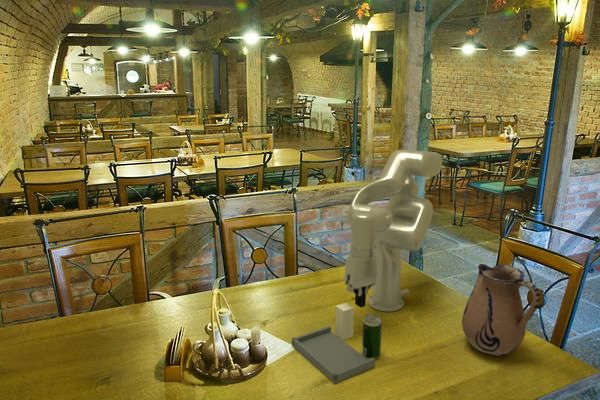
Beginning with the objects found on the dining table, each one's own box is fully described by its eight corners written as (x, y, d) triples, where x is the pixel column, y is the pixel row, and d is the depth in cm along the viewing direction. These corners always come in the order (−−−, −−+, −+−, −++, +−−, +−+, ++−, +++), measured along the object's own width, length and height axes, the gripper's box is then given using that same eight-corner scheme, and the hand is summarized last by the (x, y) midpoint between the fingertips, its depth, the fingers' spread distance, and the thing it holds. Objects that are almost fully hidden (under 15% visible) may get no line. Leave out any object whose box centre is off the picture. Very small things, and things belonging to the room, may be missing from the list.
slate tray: (329, 332, 156) (329, 325, 155) (374, 366, 138) (374, 359, 137) (291, 345, 148) (291, 338, 148) (334, 383, 130) (334, 375, 130)
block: (345, 330, 157) (346, 302, 154) (353, 336, 153) (354, 307, 151) (335, 334, 155) (335, 305, 152) (343, 340, 151) (343, 311, 149)
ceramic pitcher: (476, 326, 159) (483, 254, 153) (543, 351, 145) (555, 274, 138) (449, 347, 147) (456, 270, 141) (519, 377, 133) (531, 293, 126)
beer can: (370, 362, 140) (371, 325, 137) (358, 353, 144) (359, 317, 141) (384, 356, 143) (386, 319, 139) (371, 348, 147) (373, 312, 144)
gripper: (372, 243, 157) (370, 295, 162) (335, 252, 149) (334, 306, 154) (388, 250, 151) (385, 304, 155) (351, 259, 143) (349, 316, 148)
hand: (360, 305), depth 155 cm, fingers closed
